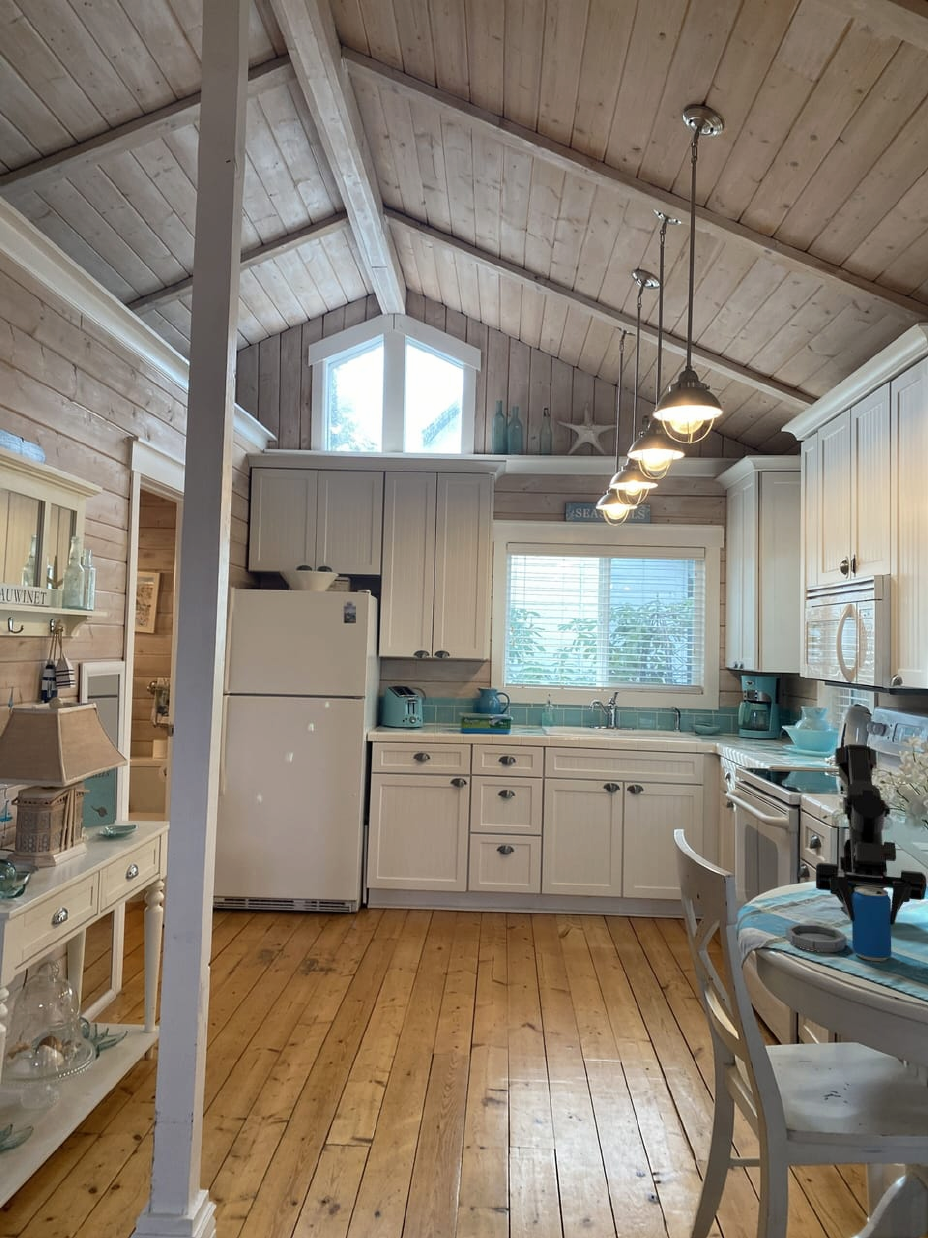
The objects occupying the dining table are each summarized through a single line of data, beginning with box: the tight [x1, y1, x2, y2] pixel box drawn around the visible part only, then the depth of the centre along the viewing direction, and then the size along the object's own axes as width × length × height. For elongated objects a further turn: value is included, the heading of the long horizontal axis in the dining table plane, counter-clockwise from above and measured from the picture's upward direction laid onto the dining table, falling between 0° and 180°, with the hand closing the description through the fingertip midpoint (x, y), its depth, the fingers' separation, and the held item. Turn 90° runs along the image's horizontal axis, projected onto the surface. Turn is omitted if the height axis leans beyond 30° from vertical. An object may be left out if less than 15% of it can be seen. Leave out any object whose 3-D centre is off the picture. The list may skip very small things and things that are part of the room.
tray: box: [785, 923, 847, 953], centre depth 161 cm, size 10×10×2 cm
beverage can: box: [851, 886, 892, 962], centre depth 155 cm, size 6×6×12 cm
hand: (872, 922), depth 153 cm, fingers closed on beverage can, 6 cm apart
